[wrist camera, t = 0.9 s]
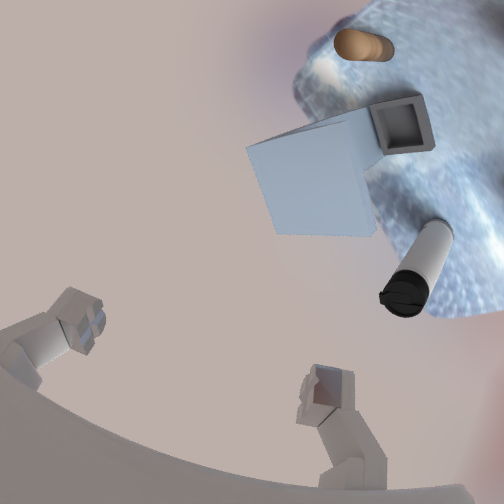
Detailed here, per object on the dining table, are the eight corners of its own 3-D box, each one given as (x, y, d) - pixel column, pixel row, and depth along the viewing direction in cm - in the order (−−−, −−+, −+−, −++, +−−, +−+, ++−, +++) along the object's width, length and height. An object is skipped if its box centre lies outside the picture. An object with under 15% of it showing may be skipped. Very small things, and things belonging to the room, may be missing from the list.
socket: (422, 94, 37) (417, 96, 35) (435, 146, 40) (431, 150, 38) (376, 103, 44) (368, 105, 42) (390, 150, 47) (383, 155, 45)
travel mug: (419, 217, 49) (375, 280, 38) (452, 218, 44) (421, 286, 33) (422, 248, 51) (380, 316, 40) (454, 250, 46) (422, 324, 35)
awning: (422, 96, 37) (339, 122, 22) (437, 156, 41) (370, 237, 25) (362, 107, 46) (245, 147, 30) (377, 161, 50) (276, 234, 34)
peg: (388, 33, 35) (357, 24, 28) (398, 58, 36) (370, 55, 30) (364, 40, 38) (328, 35, 32) (374, 64, 40) (341, 64, 33)
